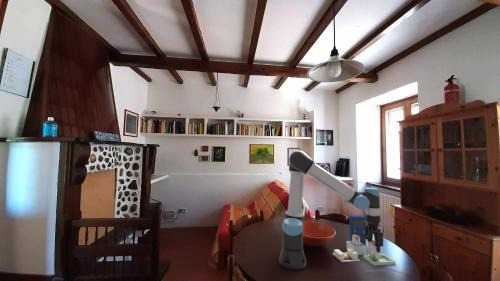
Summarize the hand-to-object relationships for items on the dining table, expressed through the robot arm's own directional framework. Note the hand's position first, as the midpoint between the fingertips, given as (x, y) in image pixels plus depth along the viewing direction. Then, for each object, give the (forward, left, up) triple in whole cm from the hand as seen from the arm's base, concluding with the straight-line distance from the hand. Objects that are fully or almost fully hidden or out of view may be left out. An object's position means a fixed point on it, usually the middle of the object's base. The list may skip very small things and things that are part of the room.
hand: (374, 255), depth 119 cm
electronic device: (+5, +22, -4) cm, 23 cm away
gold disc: (-14, +6, -4) cm, 16 cm away
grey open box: (-3, +12, -4) cm, 13 cm away
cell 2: (0, 0, -2) cm, 2 cm away
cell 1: (-3, +12, -3) cm, 13 cm away
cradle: (-14, +6, -4) cm, 16 cm away
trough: (+3, 0, -4) cm, 5 cm away
